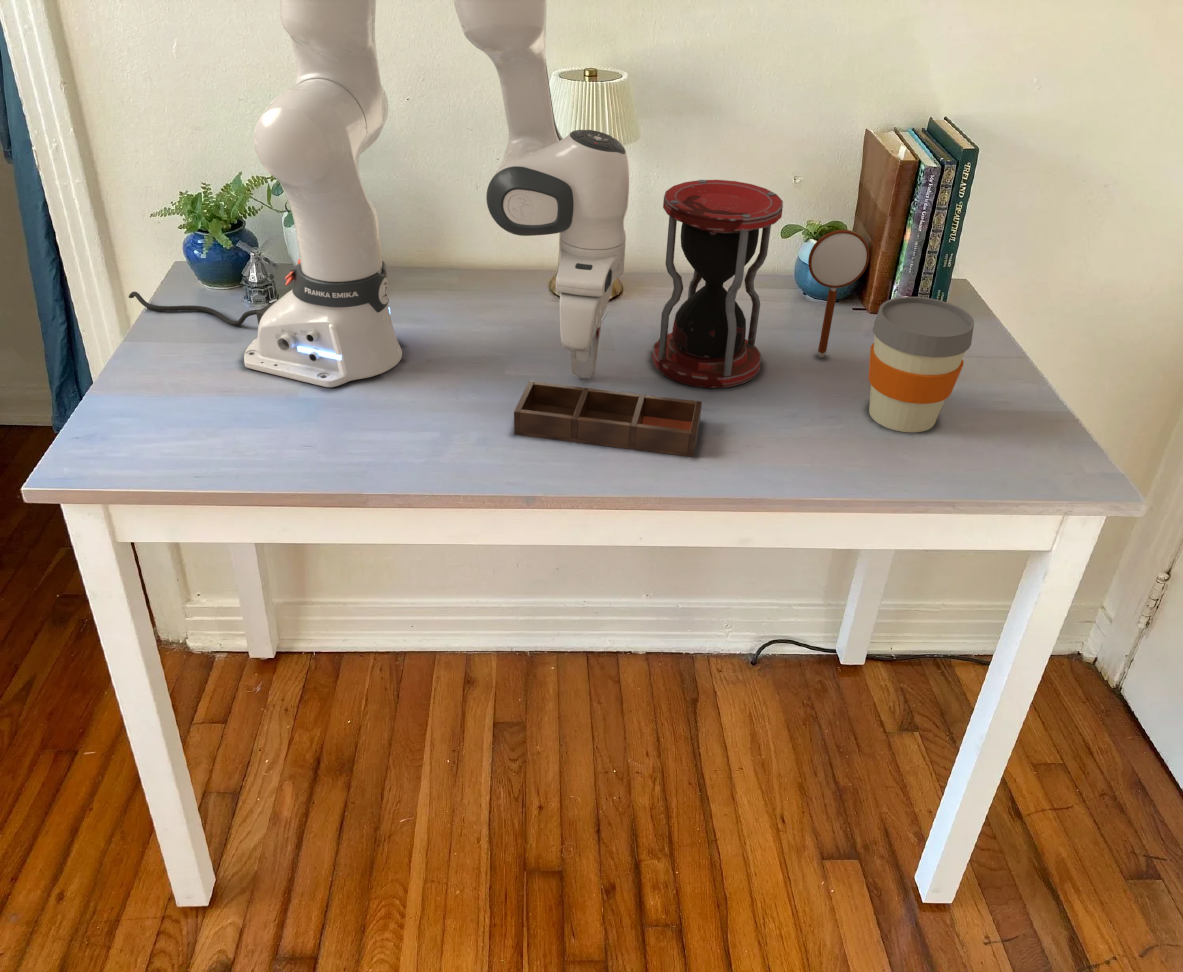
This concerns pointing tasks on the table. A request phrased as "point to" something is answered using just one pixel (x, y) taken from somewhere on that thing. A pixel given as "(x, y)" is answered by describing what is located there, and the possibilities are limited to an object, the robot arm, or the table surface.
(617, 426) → the compartment tray
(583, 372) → the milkshake
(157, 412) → the table surface
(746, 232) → the hourglass
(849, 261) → the magnifying glass
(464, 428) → the table surface
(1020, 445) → the table surface
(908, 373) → the reusable coffee cup
